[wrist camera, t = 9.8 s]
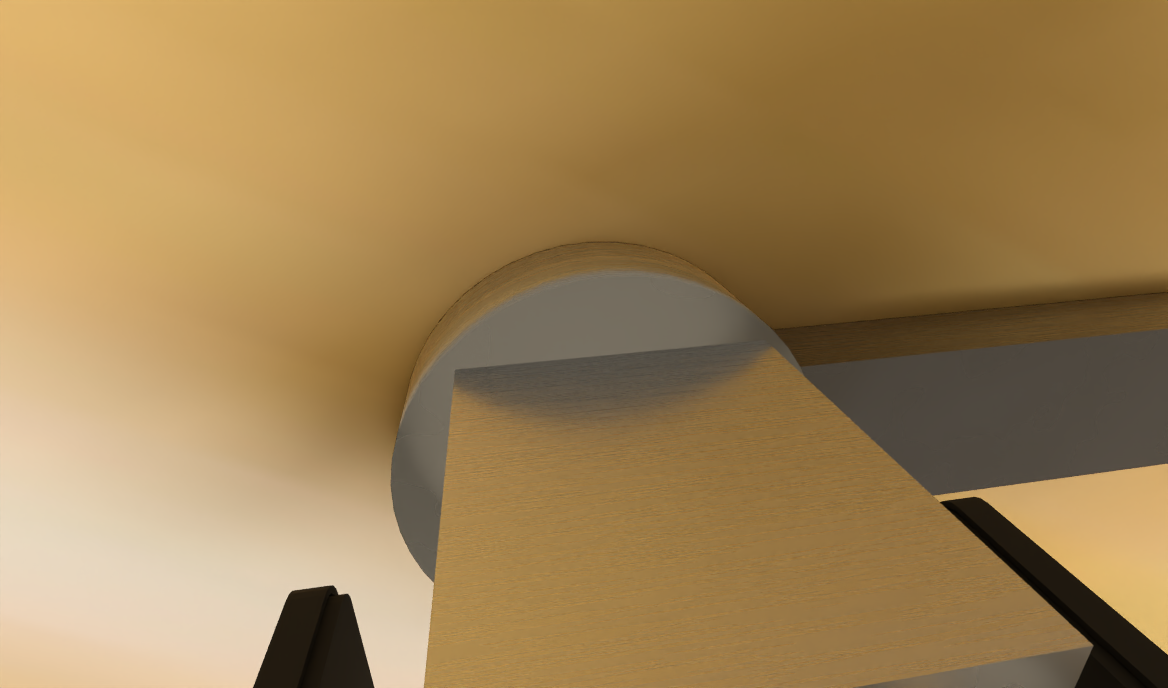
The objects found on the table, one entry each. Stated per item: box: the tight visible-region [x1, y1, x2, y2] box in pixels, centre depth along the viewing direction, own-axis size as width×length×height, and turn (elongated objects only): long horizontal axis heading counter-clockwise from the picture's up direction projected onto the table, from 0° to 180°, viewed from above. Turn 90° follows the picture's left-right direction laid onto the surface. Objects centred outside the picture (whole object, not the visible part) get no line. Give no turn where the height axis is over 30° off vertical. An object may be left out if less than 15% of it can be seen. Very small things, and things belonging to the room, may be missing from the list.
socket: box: [424, 340, 1094, 688], centre depth 9 cm, size 6×6×7 cm
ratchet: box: [391, 242, 1168, 582], centre depth 13 cm, size 20×9×6 cm, turn 92°
